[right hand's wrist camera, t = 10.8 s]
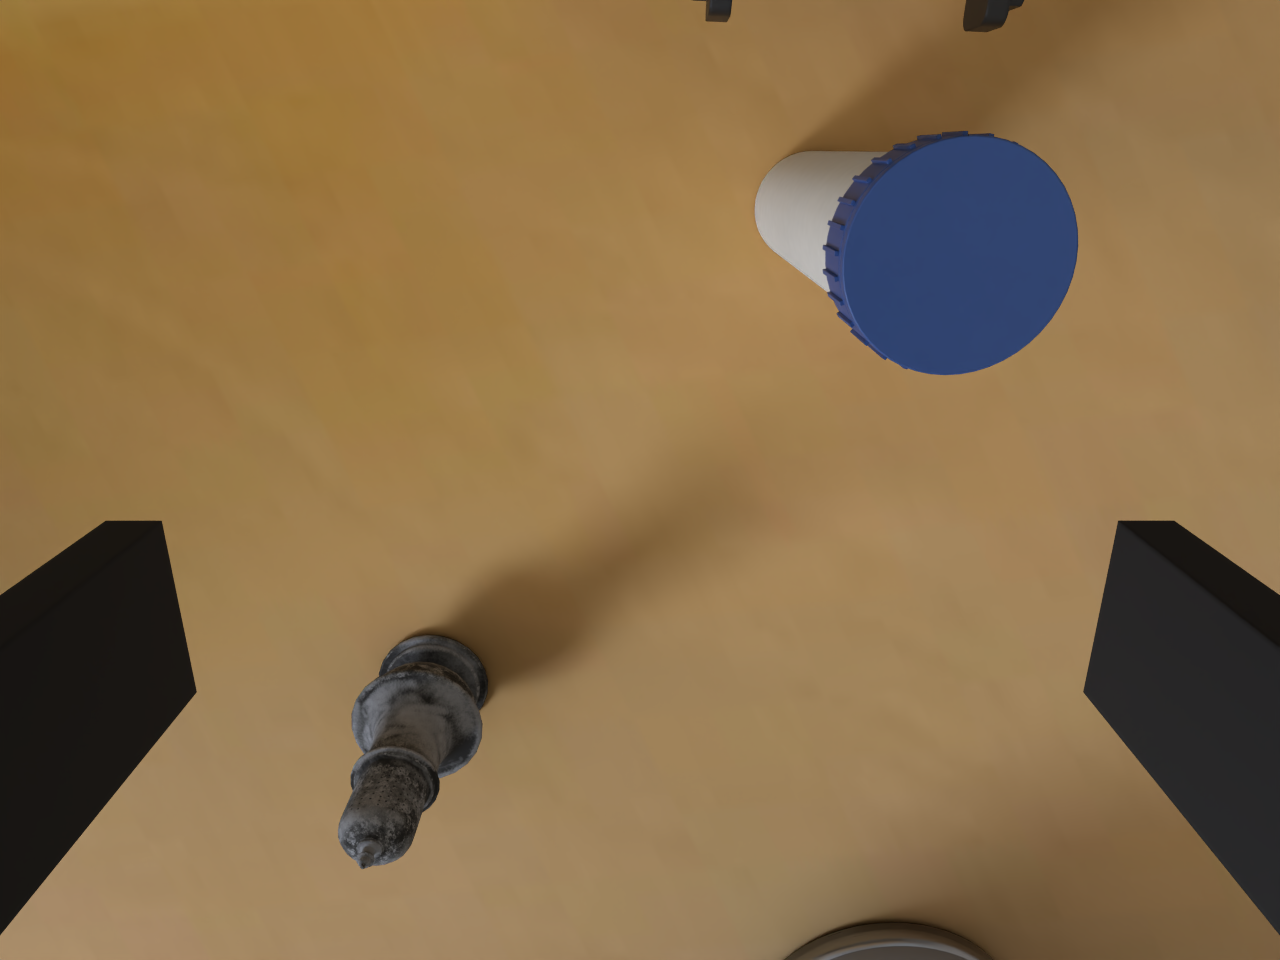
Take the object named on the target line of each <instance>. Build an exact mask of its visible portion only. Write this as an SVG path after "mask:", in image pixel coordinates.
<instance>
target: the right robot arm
mask: <svg viewBox="0 0 1280 960" xmlns="http://www.w3.org/2000/svg"><path fill="white" fill-rule="evenodd" d="M196 692H197V691H196V687H195V682H194V677H193V672H192V667H191V662H190V657H189V652H188V647H187V642H186V638H185V633H184V628H183V623H182V618H181V613H180V608H179V603H178V598H177V593H176V589H175V584H174V579H173V574H172V569H171V564H170V559H169V554H168V549H167V544H166V540H165V535H164V530H163V525H162V521H105V522H103V523H102V524H101V525H99V526H98V527H96V528H95V529H93V530H92V531H91V532H89V533H88V534H86V535H85V536H84V537H82V538H81V539H79V540H78V541H76V542H75V543H74V544H72V545H71V546H69V547H68V548H67V549H65V550H64V551H62V552H61V553H59V554H58V555H57V556H55V557H54V558H52V559H51V560H50V561H48V562H47V563H45V564H44V565H42V566H41V567H40V568H38V569H37V570H35V571H34V572H33V573H31V574H30V575H28V576H27V577H25V578H24V579H23V580H21V581H20V582H18V583H17V584H16V585H14V586H13V587H11V588H10V589H8V590H7V591H6V592H4V593H3V594H1V595H0V935H1V933H2V932H3V931H4V930H5V929H6V927H7V926H8V925H9V924H10V922H11V921H12V920H13V919H14V917H15V916H16V915H17V914H18V912H19V911H20V910H21V909H22V908H23V906H24V905H25V904H26V903H27V901H28V900H29V899H30V898H31V896H32V895H33V894H34V893H35V891H36V890H37V889H38V888H39V886H40V885H41V884H42V883H43V882H44V880H45V879H46V878H47V877H48V875H49V874H50V873H51V872H52V870H53V869H54V868H55V867H56V865H57V864H58V863H59V862H60V861H61V859H62V858H63V857H64V856H65V854H66V853H67V852H68V851H69V849H70V848H71V847H72V846H73V844H74V843H75V842H76V841H77V839H78V838H79V837H80V836H81V835H82V833H83V832H84V831H85V830H86V828H87V827H88V826H89V825H90V823H91V822H92V821H93V820H94V818H95V817H96V816H97V815H98V814H99V812H100V811H101V810H102V809H103V807H104V806H105V805H106V804H107V802H108V801H109V800H110V799H111V797H112V796H113V795H114V794H115V793H116V791H117V790H118V789H119V788H120V786H121V785H122V784H123V783H124V781H125V780H126V779H127V778H128V776H129V775H130V774H131V773H132V771H133V770H134V769H135V768H136V767H137V765H138V764H139V763H140V762H141V760H142V759H143V758H144V757H145V755H146V754H147V753H148V752H149V750H150V749H151V748H152V747H153V746H154V744H155V743H156V742H157V741H158V739H159V738H160V737H161V736H162V734H163V733H164V732H165V731H166V729H167V728H168V727H169V726H170V724H171V723H172V722H173V721H174V720H175V718H176V717H177V716H178V715H179V713H180V712H181V711H182V710H183V708H184V707H185V706H186V705H187V703H188V702H189V701H190V700H191V699H192V697H193V696H194V695H195V694H196ZM1083 692H1084V694H1085V695H1086V696H1087V697H1088V699H1089V700H1090V701H1091V702H1092V703H1093V705H1094V706H1095V707H1096V708H1097V710H1098V711H1099V712H1100V713H1101V715H1102V716H1103V717H1104V718H1105V720H1106V721H1107V722H1108V723H1109V724H1110V726H1111V727H1112V728H1113V729H1114V731H1115V732H1116V733H1117V734H1118V736H1119V737H1120V738H1121V739H1122V741H1123V742H1124V743H1125V744H1126V746H1127V747H1128V748H1129V749H1130V750H1131V752H1132V753H1133V754H1134V755H1135V757H1136V758H1137V759H1138V760H1139V762H1140V763H1141V764H1142V765H1143V767H1144V768H1145V769H1146V770H1147V771H1148V773H1149V774H1150V775H1151V776H1152V778H1153V779H1154V780H1155V781H1156V783H1157V784H1158V785H1159V786H1160V788H1161V789H1162V790H1163V791H1164V793H1165V794H1166V795H1167V796H1168V797H1169V799H1170V800H1171V801H1172V802H1173V804H1174V805H1175V806H1176V807H1177V809H1178V810H1179V811H1180V812H1181V814H1182V815H1183V816H1184V817H1185V818H1186V820H1187V821H1188V822H1189V823H1190V825H1191V826H1192V827H1193V828H1194V830H1195V831H1196V832H1197V833H1198V835H1199V836H1200V837H1201V838H1202V839H1203V841H1204V842H1205V843H1206V844H1207V846H1208V847H1209V848H1210V849H1211V851H1212V852H1213V853H1214V854H1215V856H1216V857H1217V858H1218V859H1219V861H1220V862H1221V863H1222V864H1223V865H1224V867H1225V868H1226V869H1227V870H1228V872H1229V873H1230V874H1231V875H1232V877H1233V878H1234V879H1235V880H1236V882H1237V883H1238V884H1239V885H1240V886H1241V888H1242V889H1243V890H1244V891H1245V893H1246V894H1247V895H1248V896H1249V898H1250V899H1251V900H1252V901H1253V903H1254V904H1255V905H1256V906H1257V908H1258V909H1259V910H1260V911H1261V912H1262V914H1263V915H1264V916H1265V917H1266V919H1267V920H1268V921H1269V922H1270V924H1271V925H1272V926H1273V927H1274V929H1275V930H1276V931H1277V932H1278V933H1279V935H1280V595H1279V594H1277V593H1276V592H1274V591H1273V590H1272V589H1270V588H1269V587H1267V586H1266V585H1264V584H1263V583H1262V582H1260V581H1259V580H1257V579H1256V578H1255V577H1253V576H1252V575H1250V574H1249V573H1247V572H1246V571H1245V570H1243V569H1242V568H1240V567H1239V566H1238V565H1236V564H1235V563H1233V562H1232V561H1230V560H1229V559H1228V558H1226V557H1225V556H1223V555H1222V554H1221V553H1219V552H1218V551H1216V550H1215V549H1213V548H1212V547H1211V546H1209V545H1208V544H1206V543H1205V542H1204V541H1202V540H1201V539H1199V538H1198V537H1196V536H1195V535H1194V534H1192V533H1191V532H1189V531H1188V530H1187V529H1185V528H1184V527H1182V526H1181V525H1179V524H1178V523H1177V522H1175V521H1118V525H1117V530H1116V535H1115V540H1114V544H1113V549H1112V554H1111V559H1110V564H1109V569H1108V574H1107V579H1106V584H1105V589H1104V593H1103V598H1102V603H1101V608H1100V613H1099V618H1098V623H1097V628H1096V633H1095V638H1094V642H1093V647H1092V652H1091V657H1090V662H1089V667H1088V672H1087V677H1086V682H1085V687H1084V691H1083ZM785 960H993V959H992V958H991V957H990V956H989V955H988V954H987V953H985V952H984V951H983V950H982V949H980V948H979V947H978V946H976V945H974V944H973V943H971V942H970V941H968V940H966V939H964V938H962V937H960V936H958V935H955V934H953V933H950V932H948V931H944V930H941V929H938V928H934V927H929V926H925V925H918V924H910V923H878V924H868V925H862V926H856V927H852V928H848V929H844V930H840V931H837V932H834V933H831V934H828V935H826V936H824V937H821V938H819V939H817V940H815V941H813V942H811V943H809V944H807V945H805V946H803V947H802V948H800V949H799V950H797V951H795V952H794V953H793V954H791V955H790V956H789V957H787V958H786V959H785Z"/></svg>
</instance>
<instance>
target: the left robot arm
mask: <svg viewBox="0 0 1280 960" xmlns="http://www.w3.org/2000/svg"><path fill="white" fill-rule="evenodd" d="M695 1H706V21H712V22H727V21H728V19H729V17H730V14H731V6H732V0H695ZM1023 2H1024V0H966V5H965V12H964V19H963V27H964V30H965V31H972V32H989V31H991V30H994V29H997V28H1000V27H1002V26H1003V24H1004V23H1005V21H1006V18H1007V15H1008V11H1010V10H1013V9H1015V8H1018V7H1020V6H1022V4H1023Z"/></svg>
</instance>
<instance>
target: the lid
mask: <svg viewBox="0 0 1280 960" xmlns="http://www.w3.org/2000/svg"><path fill="white" fill-rule="evenodd" d="M893 148H894V149H893V150H891V151H889V152H888V153H886V154H884V155H883V156H881V157H874V158H873V159H872V160H871V162H872V164H871V165H870V166H868V167H867V168H866V169H865V170H864V171H863V172H862V173H861V174H860V175H859V176H857V175H855V176H854V177H853V178H852V180H853V181H854V182H853V183H852V184H851V186H850V187H849V189H848V190H847V191H846V193H845V194H844V196H843V197H839V198H838V200H837V201H838V202H840V203H839V205H838V207H837V209H836V211H835V214H834V216H833V219H832V221H830V220H829V221H828V224H827V225H829V226H830V228H829V232H828V236H827V243H826V245H823V250H825V267H826V269H823V274H824V275H826V276H827V281H828V285H829V289H830V292H827V294H828V296H829V297H830V298H831V299H832V300H834V302H835V305H836V307H837V308H838V310H839V312H838V313H837V315H838V317H839V318H840V319H842V320H843V321H844V322H845V323H846V324H848V325H849V326H850V327H851V328H852V330H851V331H850V332H851V333H852V334H853V335H854V336H856V337H857V338H858V339H859V340H860V341H861V342H862V343H864V344H865V345H866V346H867V345H868V346H869V347H870V348H871V349H872V350H873V351H874V352H876V353H877V354H878V355H879V356H880V357H881V358H883V359H884V360H886V359H887V358H888V359H890V360H891V361H893V362H895V363H897V364H899V365H900V366H901V367H903V368H904V369H908V368H909V369H912V370H914V371H918V372H923V373H928V374H937V375H955V374H963V373H969V372H974V371H977V370H981V369H984V368H987V367H990V366H992V365H994V364H997V363H999V362H1001V361H1003V360H1005V359H1007V358H1008V357H1010V356H1012V355H1013V354H1015V353H1017V352H1018V351H1019V350H1021V349H1022V348H1023V347H1025V346H1026V345H1027V344H1029V343H1030V342H1031V341H1032V340H1033V339H1034V338H1035V337H1036V336H1037V335H1038V334H1039V333H1040V332H1041V331H1042V330H1043V329H1044V328H1045V326H1046V325H1047V324H1048V323H1049V322H1050V320H1051V319H1052V318H1053V316H1054V314H1055V313H1056V311H1057V310H1058V308H1059V307H1060V305H1061V303H1062V301H1063V299H1064V297H1065V295H1066V293H1067V291H1068V288H1069V286H1070V283H1071V280H1072V277H1073V274H1074V269H1075V265H1076V260H1077V251H1078V229H1077V222H1076V216H1075V212H1074V209H1073V205H1072V202H1071V199H1070V197H1069V195H1068V193H1067V191H1066V189H1065V186H1064V185H1063V183H1062V182H1061V180H1060V179H1059V177H1058V176H1057V174H1056V173H1055V172H1054V171H1053V170H1052V169H1051V168H1050V166H1049V165H1048V164H1047V163H1046V162H1045V161H1043V160H1042V159H1041V158H1040V157H1038V156H1037V155H1036V154H1035V153H1033V152H1032V151H1030V150H1028V149H1026V148H1025V147H1023V146H1021V145H1019V144H1018V143H1016V142H1011V141H1009V140H1006V139H1001V138H997V137H994V134H991V133H986V134H968V131H958V132H942V136H941V134H935V135H920V136H917V140H915V141H913V142H910V143H906V144H895V145H893Z"/></svg>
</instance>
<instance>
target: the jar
mask: <svg viewBox="0 0 1280 960" xmlns="http://www.w3.org/2000/svg"><path fill="white" fill-rule="evenodd" d="M886 153H888V152H856V151H804V152H799V153H796V154H793V155H790V156H788V157H786V158H784V159H783V160H781V161H780V162H778V163H777V164H776V165H775V166H774V167H773V168H772V169H771V170H770V171H769V172H768V173H767V175H766V176H765V178H764V179H763V181H762V183H761V185H760V187H759V190H758V192H757V196H756V201H755V218H756V224H757V227H758V230H759V232H760V235H761V236H762V238H763V240H764V241H765V242H766V244H767V245H768V246H769V247H770V248H771V249H772V250H773V251H774V252H776V253H777V254H778V255H780V256H781V257H782V258H783V259H785V260H786V261H787V262H789V263H790V264H791V265H793V266H794V267H795V268H797V269H798V270H799V271H800V272H802V273H803V274H804V275H806V276H807V277H808V278H810V279H811V280H812V281H814V282H815V283H816V284H817V285H819V286H820V287H821V288H823V289H824V290H825V291H827V292H830V289H829V285H828V281H827V276H826V275H824V274H823V269H826V267H825V250H823V245H826V243H827V236H828V232H829V228H830V226H829V225H827V224H828V221H829V220H830V221H832V219H833V216H834V214H835V211H836V209H837V207H838V205H839V203H840V202H838V201H837V200H838V198H839V197H843V196H844V194H845V193H846V191H847V190H848V189H849V187H850V186H851V184H852V183H853V182H854V181H853V180H852V178H853V177H854V176H855V175H857V176H859V175H860V174H861V173H862V172H863V171H864V170H865V169H866V168H867V167H868V166H870V165H871V164H872V162H871V160H872V159H873V158H874V157H881V156H883V155H884V154H886Z"/></svg>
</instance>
